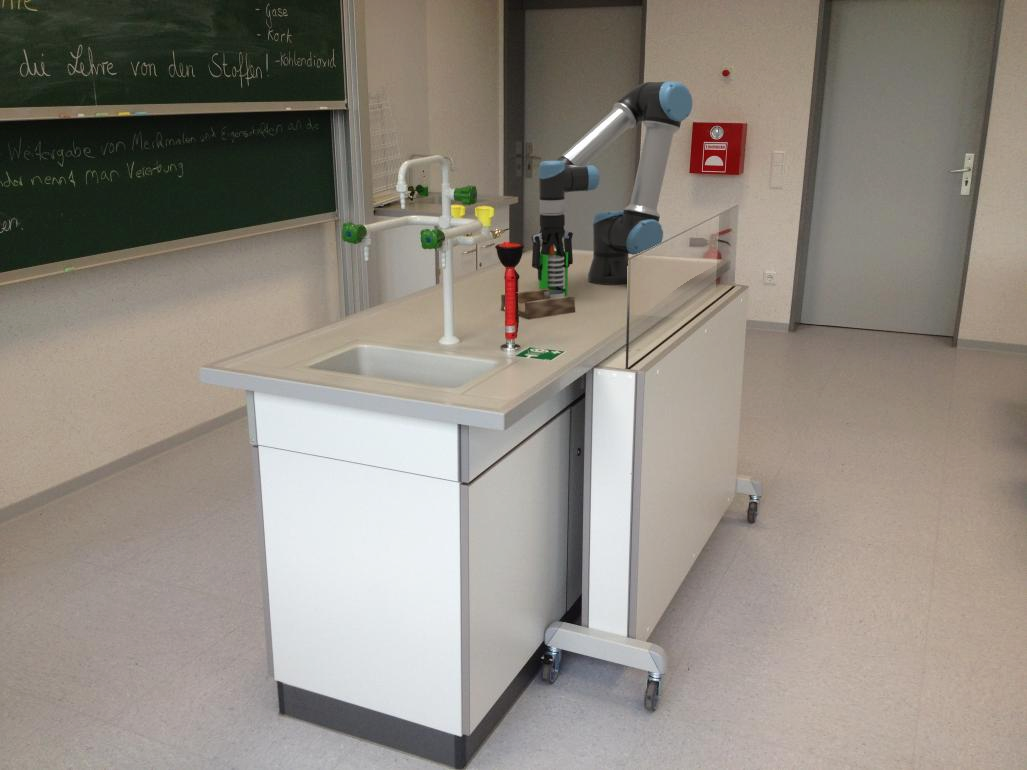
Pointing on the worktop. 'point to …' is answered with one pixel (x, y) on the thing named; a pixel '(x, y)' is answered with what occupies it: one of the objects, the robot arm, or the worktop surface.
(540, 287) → the green-shelled ribbed roller
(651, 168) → the robot arm
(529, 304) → the housing
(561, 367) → the worktop surface
